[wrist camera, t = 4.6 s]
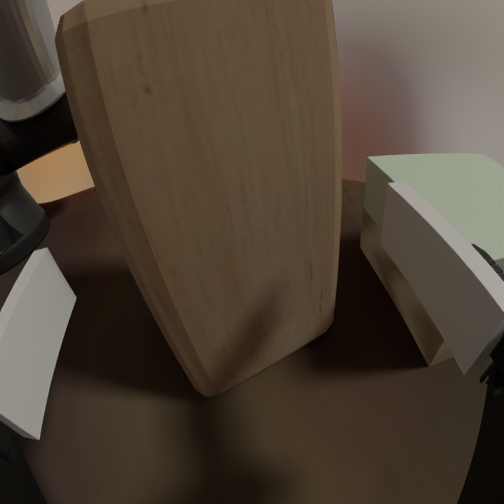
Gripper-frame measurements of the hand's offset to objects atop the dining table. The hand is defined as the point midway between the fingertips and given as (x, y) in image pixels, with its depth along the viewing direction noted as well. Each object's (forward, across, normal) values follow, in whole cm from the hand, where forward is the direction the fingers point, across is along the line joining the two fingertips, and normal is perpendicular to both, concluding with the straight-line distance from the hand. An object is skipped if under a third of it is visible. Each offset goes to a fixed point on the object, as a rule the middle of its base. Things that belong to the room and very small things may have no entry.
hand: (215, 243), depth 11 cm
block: (+6, 0, -11) cm, 12 cm away
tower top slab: (+4, +18, -7) cm, 19 cm away
